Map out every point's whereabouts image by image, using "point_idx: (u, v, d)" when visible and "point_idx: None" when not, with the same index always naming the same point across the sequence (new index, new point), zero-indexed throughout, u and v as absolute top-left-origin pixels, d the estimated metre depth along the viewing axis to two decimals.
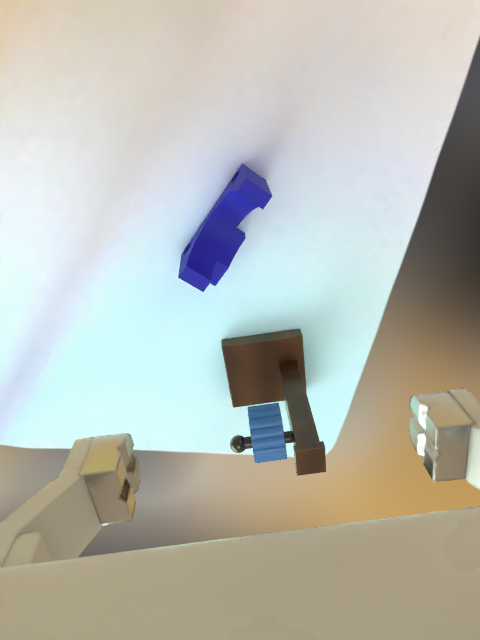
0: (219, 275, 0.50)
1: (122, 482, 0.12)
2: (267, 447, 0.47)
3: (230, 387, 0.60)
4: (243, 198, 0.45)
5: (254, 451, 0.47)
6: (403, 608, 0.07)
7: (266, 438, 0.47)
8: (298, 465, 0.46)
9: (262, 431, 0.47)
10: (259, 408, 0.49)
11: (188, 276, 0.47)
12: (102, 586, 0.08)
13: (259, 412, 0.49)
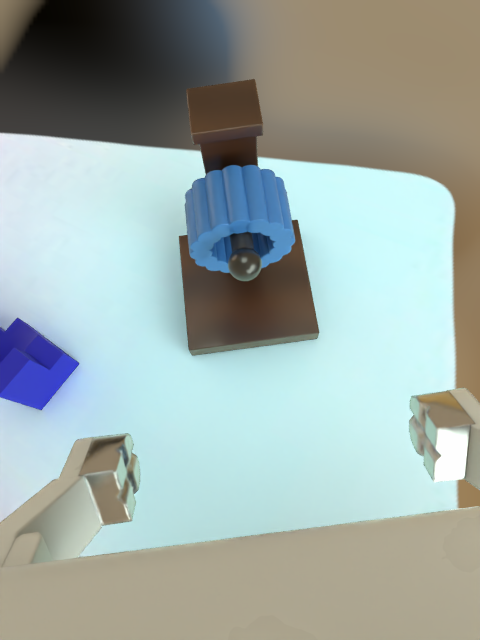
0: (47, 347, 0.34)
1: (122, 482, 0.12)
2: (223, 199, 0.24)
3: (273, 336, 0.35)
4: None
5: (231, 221, 0.23)
6: (403, 608, 0.07)
7: (206, 205, 0.24)
8: (232, 124, 0.23)
9: (196, 215, 0.24)
10: None
11: None
12: (102, 586, 0.08)
13: None
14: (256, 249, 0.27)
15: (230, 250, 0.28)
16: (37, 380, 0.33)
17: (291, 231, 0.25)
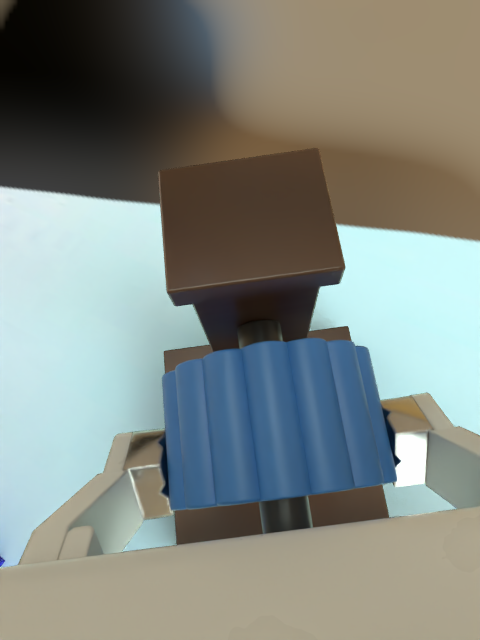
0: None
1: (165, 476, 0.12)
2: (247, 430, 0.10)
3: None
4: None
5: (265, 494, 0.10)
6: (403, 608, 0.07)
7: (206, 434, 0.10)
8: (268, 267, 0.09)
9: (184, 452, 0.11)
10: None
11: None
12: (102, 586, 0.08)
13: None
14: None
15: None
16: None
17: (396, 480, 0.11)
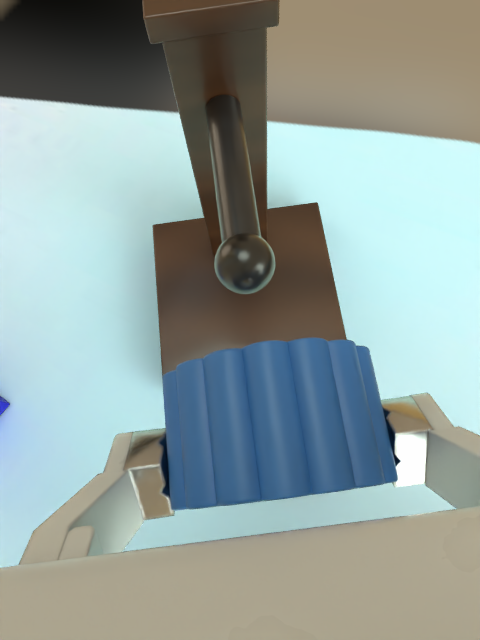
0: None
1: (165, 476, 0.12)
2: (248, 430, 0.10)
3: None
4: None
5: (266, 494, 0.10)
6: (403, 608, 0.07)
7: (207, 434, 0.10)
8: None
9: (184, 452, 0.11)
10: None
11: None
12: (102, 586, 0.08)
13: None
14: None
15: None
16: None
17: (396, 480, 0.11)
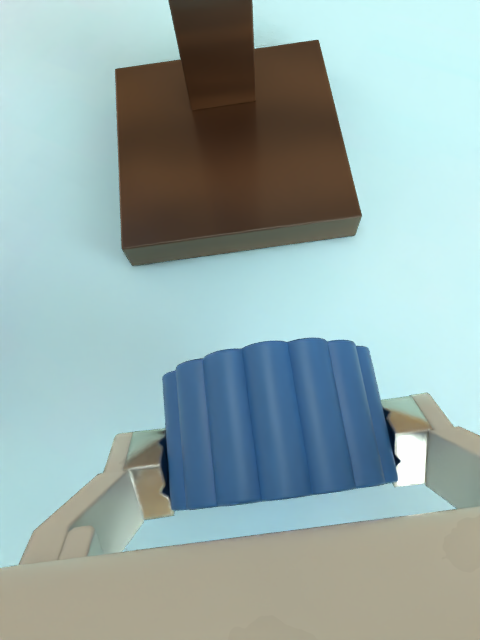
0: None
1: (165, 476, 0.12)
2: (248, 430, 0.10)
3: (277, 224, 0.19)
4: None
5: (266, 494, 0.10)
6: (403, 607, 0.07)
7: (207, 434, 0.10)
8: None
9: (184, 452, 0.11)
10: None
11: None
12: (102, 586, 0.08)
13: None
14: None
15: None
16: None
17: (396, 480, 0.11)
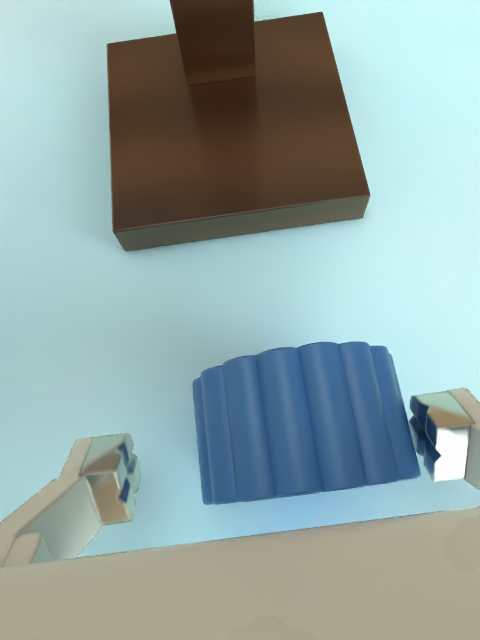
0: None
1: (122, 482, 0.12)
2: (308, 425, 0.11)
3: (279, 204, 0.18)
4: None
5: (329, 484, 0.10)
6: (403, 608, 0.07)
7: (264, 428, 0.11)
8: None
9: (238, 446, 0.11)
10: None
11: None
12: (102, 586, 0.08)
13: (199, 458, 0.13)
14: None
15: None
16: None
17: (419, 475, 0.12)
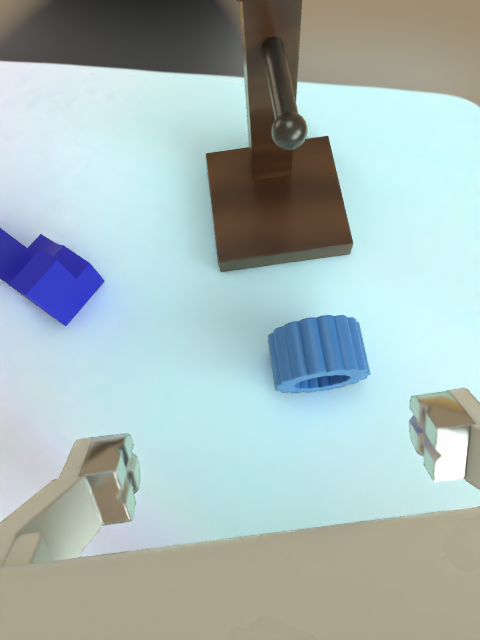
0: (73, 257, 0.33)
1: (122, 482, 0.12)
2: (321, 347, 0.27)
3: (305, 248, 0.34)
4: None
5: (329, 369, 0.26)
6: (403, 607, 0.07)
7: (303, 349, 0.27)
8: None
9: (292, 357, 0.27)
10: (273, 370, 0.30)
11: (26, 280, 0.29)
12: (102, 586, 0.08)
13: (273, 368, 0.29)
14: (325, 376, 0.31)
15: None
16: (64, 288, 0.32)
17: (369, 373, 0.28)
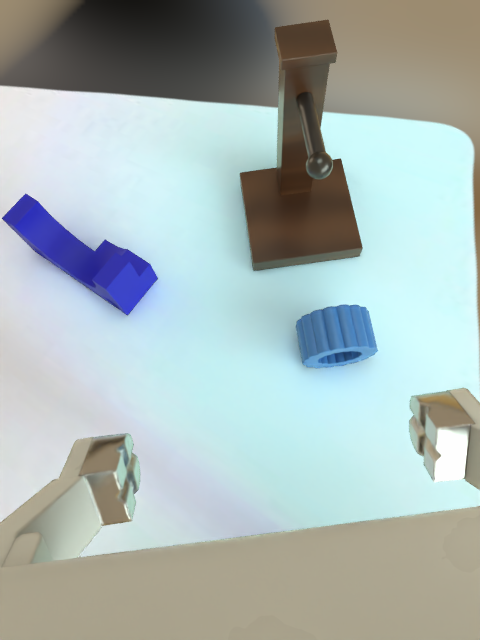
0: (136, 259, 0.41)
1: (122, 482, 0.12)
2: (340, 329, 0.35)
3: (324, 252, 0.42)
4: (42, 232, 0.42)
5: (346, 346, 0.34)
6: (404, 608, 0.07)
7: (326, 331, 0.35)
8: (313, 52, 0.29)
9: (318, 337, 0.35)
10: (300, 348, 0.38)
11: (105, 277, 0.37)
12: (102, 586, 0.08)
13: (301, 346, 0.37)
14: (341, 354, 0.39)
15: None
16: (130, 283, 0.40)
17: (377, 350, 0.36)
